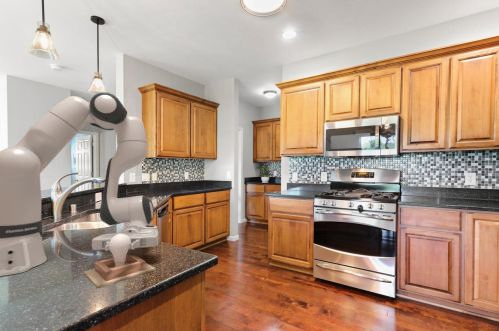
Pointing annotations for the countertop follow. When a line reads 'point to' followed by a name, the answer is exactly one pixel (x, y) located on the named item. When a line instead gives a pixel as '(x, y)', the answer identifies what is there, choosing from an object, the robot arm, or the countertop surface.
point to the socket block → (117, 270)
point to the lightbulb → (119, 248)
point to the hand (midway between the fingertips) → (119, 247)
